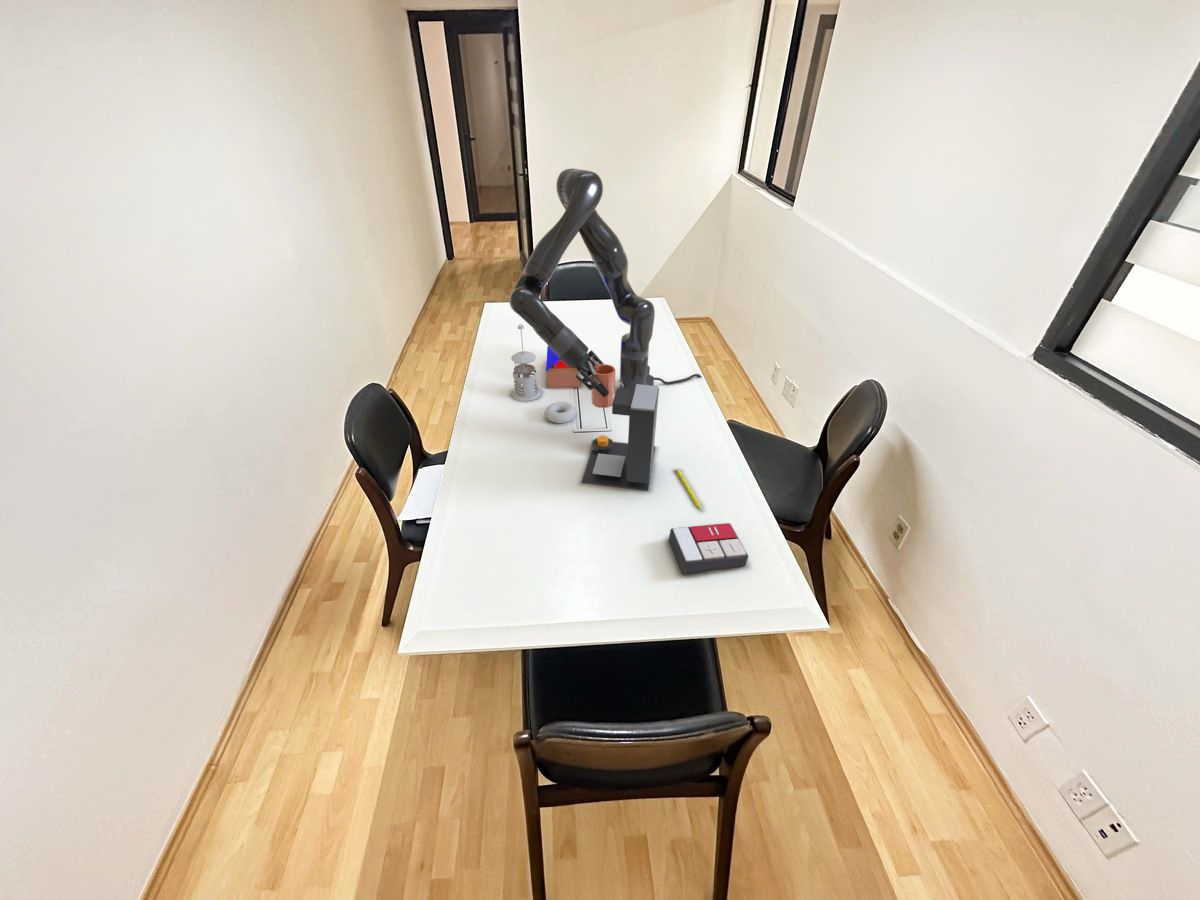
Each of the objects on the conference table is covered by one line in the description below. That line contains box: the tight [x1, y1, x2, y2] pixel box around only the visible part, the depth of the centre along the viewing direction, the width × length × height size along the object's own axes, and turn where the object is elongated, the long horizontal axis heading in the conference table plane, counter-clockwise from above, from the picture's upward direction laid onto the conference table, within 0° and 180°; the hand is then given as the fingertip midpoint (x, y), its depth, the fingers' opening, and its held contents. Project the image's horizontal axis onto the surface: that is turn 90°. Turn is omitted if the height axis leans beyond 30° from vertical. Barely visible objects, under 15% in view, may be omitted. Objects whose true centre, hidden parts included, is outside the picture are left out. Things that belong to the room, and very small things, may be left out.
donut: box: [544, 401, 577, 424], centre depth 167 cm, size 10×4×10 cm
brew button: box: [596, 434, 609, 447], centre depth 151 cm, size 3×3×2 cm
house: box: [545, 345, 581, 389], centre depth 188 cm, size 12×20×12 cm, turn 3°
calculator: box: [668, 522, 749, 575], centre depth 120 cm, size 11×4×15 cm
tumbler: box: [591, 363, 616, 409], centre depth 148 cm, size 6×6×10 cm
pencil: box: [675, 468, 702, 510], centre depth 139 cm, size 16×1×1 cm, turn 14°
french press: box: [510, 324, 542, 402], centre depth 173 cm, size 10×12×25 cm
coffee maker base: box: [581, 437, 656, 492], centre depth 147 cm, size 18×20×3 cm
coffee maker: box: [592, 384, 660, 485], centre depth 136 cm, size 15×12×23 cm
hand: (608, 388), depth 148 cm, fingers closed on tumbler, 6 cm apart
